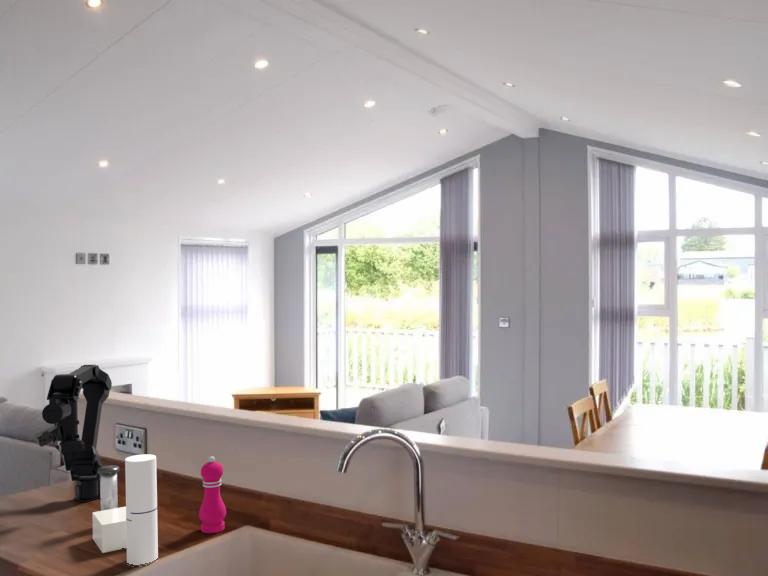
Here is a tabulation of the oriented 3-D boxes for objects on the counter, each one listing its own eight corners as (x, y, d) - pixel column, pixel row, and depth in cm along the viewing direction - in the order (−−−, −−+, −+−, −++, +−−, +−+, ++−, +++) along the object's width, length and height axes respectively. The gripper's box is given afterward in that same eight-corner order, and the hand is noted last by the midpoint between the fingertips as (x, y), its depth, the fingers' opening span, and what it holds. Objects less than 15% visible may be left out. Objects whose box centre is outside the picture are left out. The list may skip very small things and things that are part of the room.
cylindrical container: (148, 567, 166) (146, 462, 166) (120, 565, 168) (119, 461, 168) (163, 555, 173) (161, 454, 173) (137, 554, 175) (135, 453, 175)
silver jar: (96, 523, 197) (95, 467, 197) (117, 519, 200) (116, 464, 200) (108, 539, 185) (107, 479, 184) (130, 534, 188) (129, 475, 188)
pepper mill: (222, 534, 188) (221, 459, 188) (195, 534, 188) (194, 459, 188) (229, 524, 195) (228, 453, 195) (203, 525, 195) (202, 453, 195)
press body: (92, 538, 186) (92, 512, 186) (139, 529, 192) (139, 504, 192) (102, 553, 176) (102, 525, 176) (151, 542, 182) (150, 515, 182)
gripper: (32, 415, 209) (33, 468, 209) (41, 425, 193) (42, 482, 193) (72, 411, 215) (73, 462, 215) (84, 421, 199) (85, 475, 199)
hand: (68, 470), depth 206 cm, fingers closed
